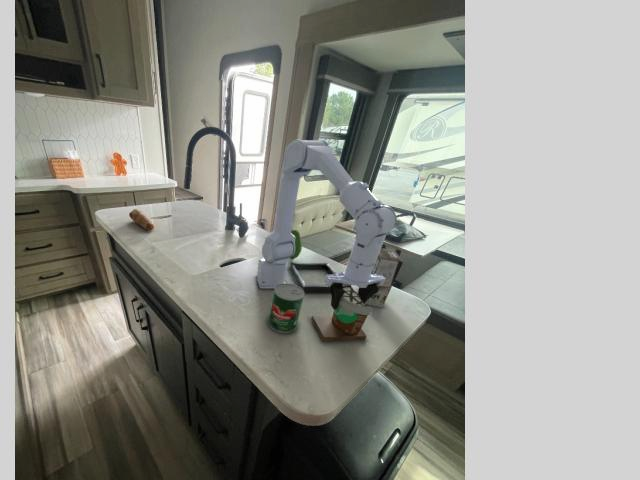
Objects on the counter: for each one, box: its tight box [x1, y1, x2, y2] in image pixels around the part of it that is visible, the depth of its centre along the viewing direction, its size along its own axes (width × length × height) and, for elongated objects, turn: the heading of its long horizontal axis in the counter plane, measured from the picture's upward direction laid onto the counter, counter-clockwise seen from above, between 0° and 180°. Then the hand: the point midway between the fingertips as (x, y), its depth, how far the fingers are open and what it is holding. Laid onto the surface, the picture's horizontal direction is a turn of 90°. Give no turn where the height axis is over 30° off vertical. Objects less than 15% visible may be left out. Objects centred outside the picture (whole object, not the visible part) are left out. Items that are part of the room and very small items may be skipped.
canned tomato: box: [268, 282, 305, 334], centre depth 72 cm, size 8×8×11 cm
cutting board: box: [311, 314, 367, 342], centre depth 74 cm, size 12×9×2 cm
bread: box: [128, 208, 155, 232], centre depth 129 cm, size 6×19×6 cm, turn 36°
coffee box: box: [365, 248, 404, 308], centre depth 85 cm, size 9×6×16 cm
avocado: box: [290, 228, 303, 260], centre depth 107 cm, size 8×8×12 cm
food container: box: [331, 284, 373, 336], centre depth 71 cm, size 12×6×10 cm, turn 5°
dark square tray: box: [289, 262, 337, 294], centre depth 96 cm, size 15×17×2 cm
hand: (345, 307), depth 70 cm, fingers closed on food container, 6 cm apart
